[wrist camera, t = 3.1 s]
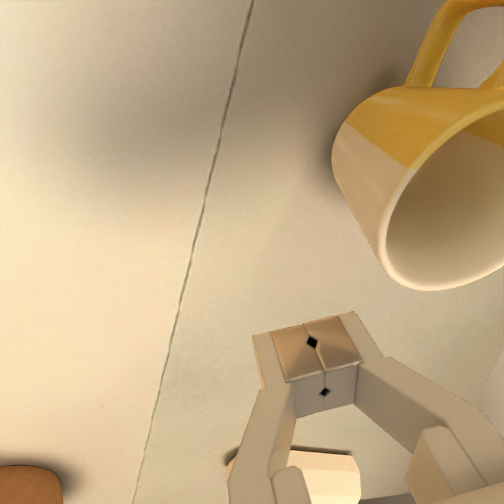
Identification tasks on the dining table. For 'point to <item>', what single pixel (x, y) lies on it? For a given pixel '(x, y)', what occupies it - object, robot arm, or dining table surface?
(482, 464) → the robot arm
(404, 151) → the mug
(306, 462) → the crystal
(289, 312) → the dining table surface
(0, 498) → the vase
